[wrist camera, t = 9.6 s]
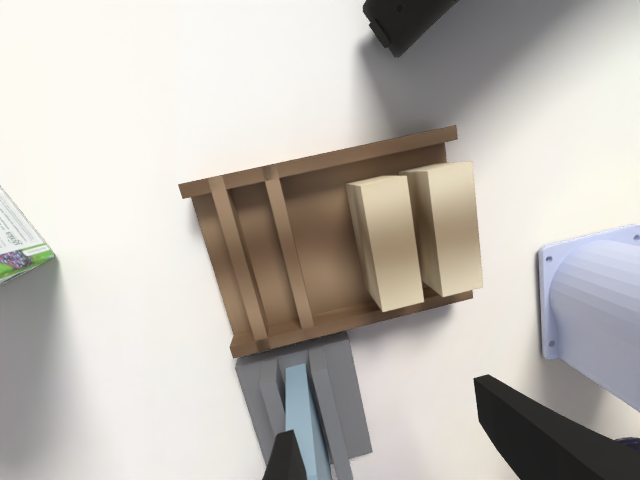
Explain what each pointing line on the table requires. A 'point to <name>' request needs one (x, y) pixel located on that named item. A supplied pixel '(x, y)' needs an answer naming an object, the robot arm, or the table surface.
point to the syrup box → (18, 242)
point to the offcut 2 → (446, 226)
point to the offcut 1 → (386, 240)
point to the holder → (328, 390)
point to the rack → (301, 241)
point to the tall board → (306, 423)
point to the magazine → (403, 20)
